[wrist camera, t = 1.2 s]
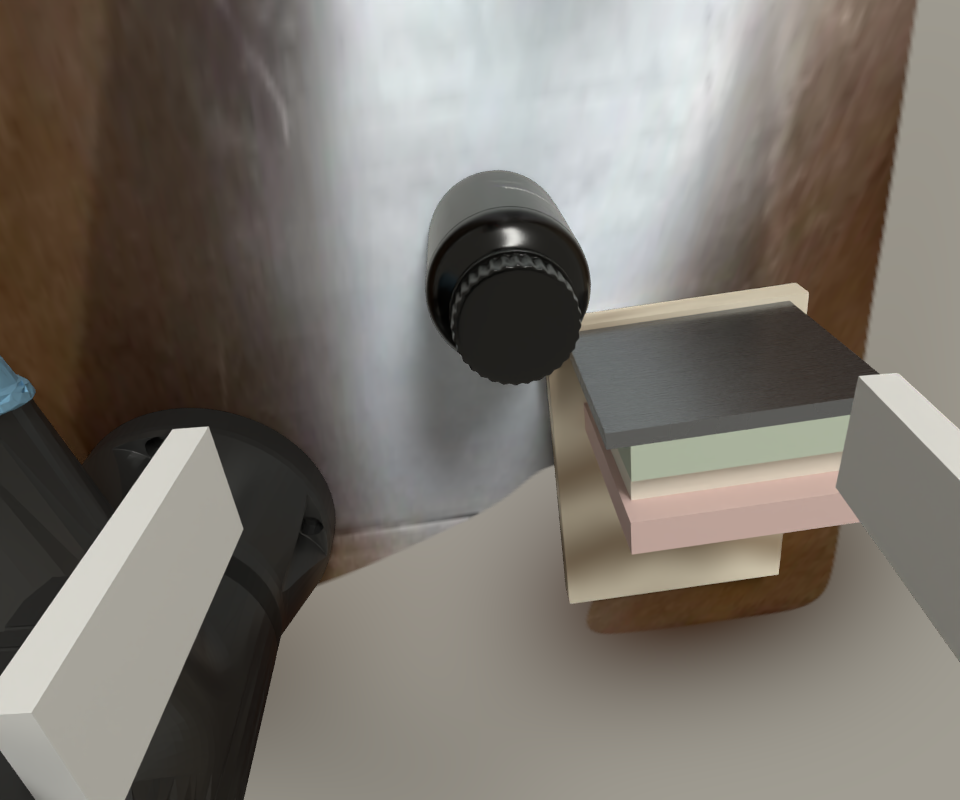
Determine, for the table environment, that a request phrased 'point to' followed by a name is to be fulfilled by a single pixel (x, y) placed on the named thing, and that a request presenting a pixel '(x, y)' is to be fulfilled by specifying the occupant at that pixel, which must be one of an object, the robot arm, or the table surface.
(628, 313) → the shelf board
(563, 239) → the supplement bottle
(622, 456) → the book row
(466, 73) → the table surface
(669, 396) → the bookend
